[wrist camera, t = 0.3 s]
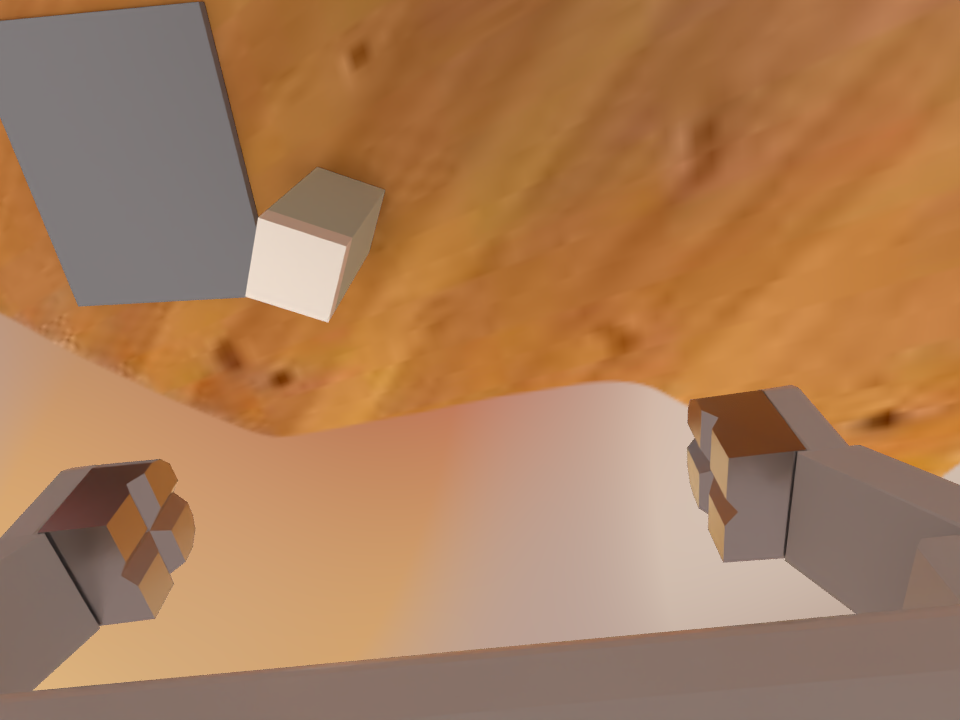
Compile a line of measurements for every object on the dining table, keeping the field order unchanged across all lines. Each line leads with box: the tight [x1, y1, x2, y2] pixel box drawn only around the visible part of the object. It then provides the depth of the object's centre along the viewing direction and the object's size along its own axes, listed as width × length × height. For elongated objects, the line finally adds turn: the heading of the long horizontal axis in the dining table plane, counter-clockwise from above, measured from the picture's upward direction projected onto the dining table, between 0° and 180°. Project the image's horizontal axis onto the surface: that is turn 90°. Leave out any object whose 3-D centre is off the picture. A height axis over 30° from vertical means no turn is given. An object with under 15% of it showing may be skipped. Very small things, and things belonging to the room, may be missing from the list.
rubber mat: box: [0, 2, 258, 306], centre depth 47 cm, size 20×16×1 cm
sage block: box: [245, 167, 385, 322], centre depth 43 cm, size 5×5×12 cm
